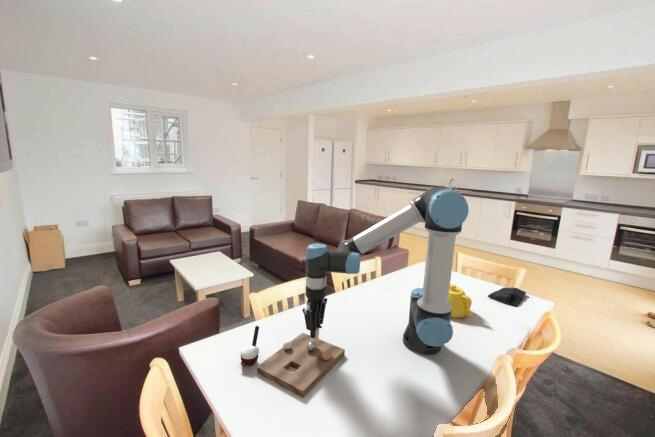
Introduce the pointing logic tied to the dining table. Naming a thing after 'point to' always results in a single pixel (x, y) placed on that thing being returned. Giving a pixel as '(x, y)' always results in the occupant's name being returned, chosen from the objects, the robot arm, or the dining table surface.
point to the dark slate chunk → (508, 296)
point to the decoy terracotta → (326, 355)
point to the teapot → (459, 302)
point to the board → (300, 365)
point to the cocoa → (250, 351)
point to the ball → (310, 346)
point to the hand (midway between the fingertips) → (314, 343)
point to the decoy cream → (287, 344)
